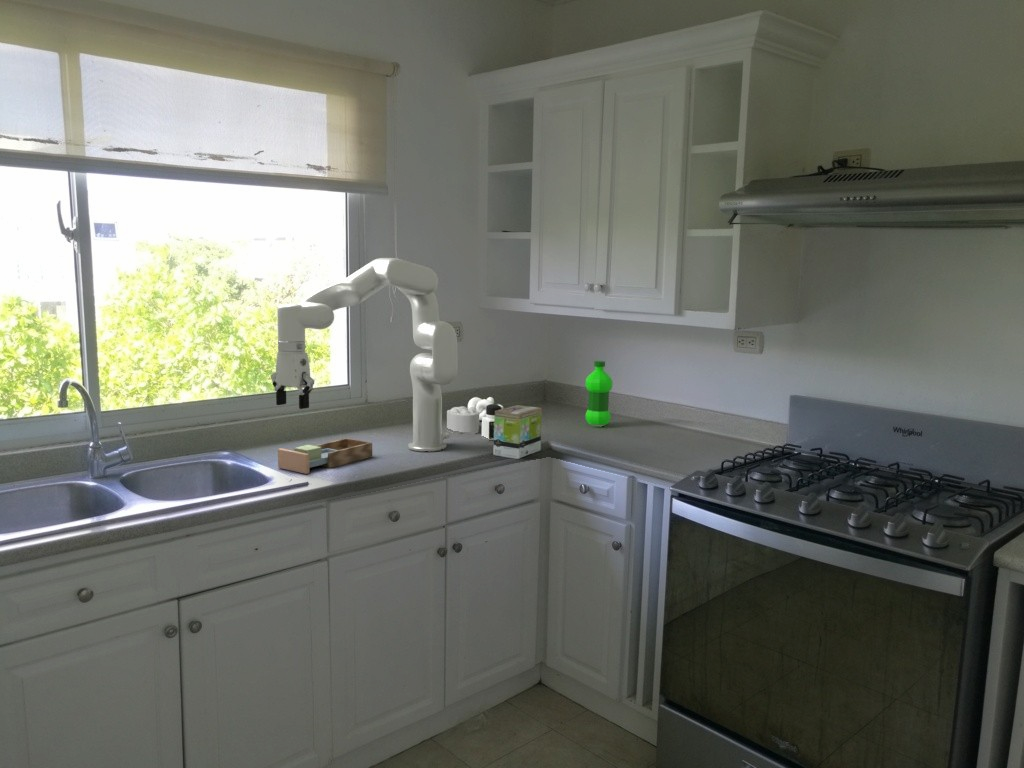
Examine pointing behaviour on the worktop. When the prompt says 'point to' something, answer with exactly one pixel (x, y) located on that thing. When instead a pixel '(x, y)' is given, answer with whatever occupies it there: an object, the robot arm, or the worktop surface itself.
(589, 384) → the plastic bottle
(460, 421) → the lumpy-topped squat cylinder
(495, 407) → the medicine bottle
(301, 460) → the wooden drawer
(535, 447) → the tea box
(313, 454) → the olive block
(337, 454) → the organiser box
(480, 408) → the white knobbly figure
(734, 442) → the worktop surface
